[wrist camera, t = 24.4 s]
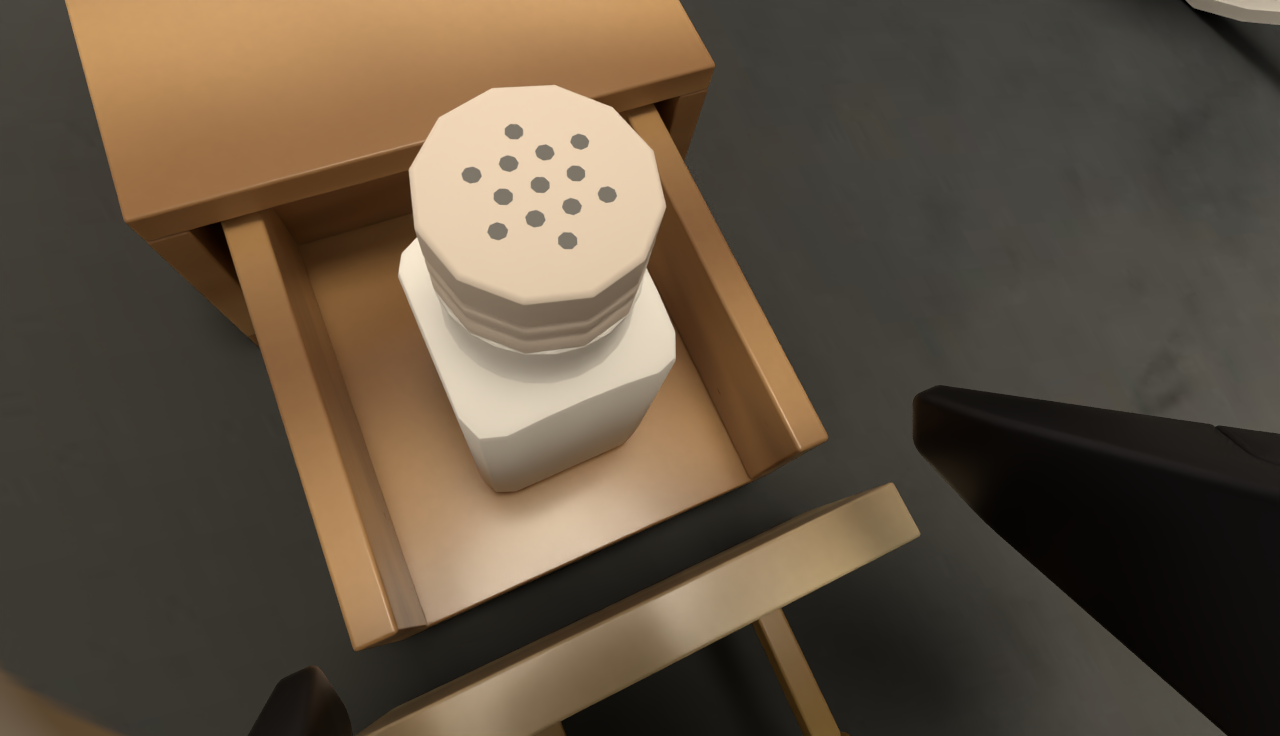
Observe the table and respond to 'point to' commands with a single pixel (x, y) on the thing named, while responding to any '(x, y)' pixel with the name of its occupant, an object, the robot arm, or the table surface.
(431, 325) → the pepper shaker
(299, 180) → the cabinet
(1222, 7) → the cup
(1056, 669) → the table surface
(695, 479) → the drawer
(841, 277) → the table surface
